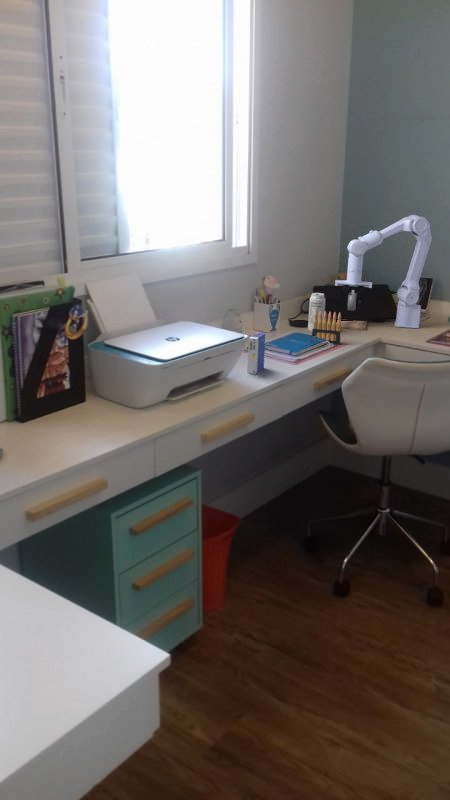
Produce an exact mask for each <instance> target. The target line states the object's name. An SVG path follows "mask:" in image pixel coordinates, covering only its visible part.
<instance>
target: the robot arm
mask: <svg viewBox="0 0 450 800" xmlns="http://www.w3.org/2000/svg"><path fill="white" fill-rule="evenodd" d="M400 232H411V234H413V237H415V240H416V244H415V247H414V249H413V250H414V251H413V254H412V258H411V260H410V264H409V267H408V271H407V273H406V276H405V279H404V280H403V281H402V283H401V285H400V286H399V288H398V289H397V291H396V297H397V299H398V302H397V308H396V319H395V321H394V327H397V328H409V329H419V328H420V324H421V323H420V321H421V319H420V318H421V309H422V305H420V304H417V303H418V302H419V299H420V294H419V293H420V284H419V282H420V279H421V275H422V272H423V270H424V266H425V263H426V260H427V256H428V253H429V250H430V246H431V244H432V240H433V238H432V232H431V223H430V222H429V221H428V219H427V218H425V217H424V216H419V215H416V214H410V215H408V216H405V217H403V218H401V219H399V220H397V221H396V222H394V223H393V224H390V225H389V226H387V227H385V228H383V229H382V230H380V231H378V230H376V229H375V230H370V231H369V232H368V233H367V234H365V235H363V236H358V237H357V239H352V240H350V242H349V243H348V245H347V246H346V247H347V252H348V261H347V272H346V273H347V274H346V279H344V280H343V279H342V280H341V279H339V280H338V279H335V281H334V286H335V287H337V286H339V287H341V286H342V290H343V293H344V294H343V295H344V297H345V305H348V296H349V293H350V292H349V290H350V287H355V288H356V287H357V292H356V293H357V298H356V306H358V303H359V300H360V297H361V295H362V294H363V292H364V290H365V288H369V289H373V282H372V281H371V282H370V281H363V280H362V277H363V276H362V275H363V274H362V273H363V265H364V264H363V263H364V255H365V253H366V252H367V251H369V250H371V249H374V248H375V247H377V246H379V245H381V244H382V243H383V240H384V239H387V238H388V237H391V236H393V235H396V234H398V233H400Z"/></svg>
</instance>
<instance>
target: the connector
mask: <svg viewBox="0 0 450 800" xmlns="http://www.w3.org/2000/svg"><path fill="white" fill-rule="evenodd" d="M356 299H357V292H355V289H351V292H349V293H348V304H347V307H346V309H347V311H351V312H353V311H356V308H357V307H356V306H357V305H356Z"/></svg>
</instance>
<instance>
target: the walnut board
mask: <svg viewBox="0 0 450 800" xmlns="http://www.w3.org/2000/svg"><path fill="white" fill-rule="evenodd" d="M336 326H337V322H336ZM341 329H343V330H355V331H367V321H365V320H353V321H341Z"/></svg>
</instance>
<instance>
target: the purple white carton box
mask: <svg viewBox="0 0 450 800" xmlns="http://www.w3.org/2000/svg"><path fill="white" fill-rule="evenodd" d="M265 346H266V333H264V332H258V331H257V332H256V333H254V334H252V335H251V336H250V337H248V347H247V348H248V349H247V351H248V352H247V371H246V372H247V373H248V374H251V375H255V374H257V373H258V372H260V371H261V370H262V369H264V367H265V348H266V347H265Z"/></svg>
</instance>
